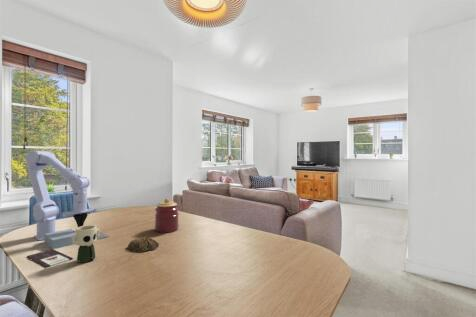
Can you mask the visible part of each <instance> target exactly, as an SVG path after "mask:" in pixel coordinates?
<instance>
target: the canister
mask: <svg viewBox="0 0 476 317" xmlns="http://www.w3.org/2000/svg"><path fill="white" fill-rule="evenodd" d="M179 209H180V208H179V207H178V203H176V202H175V201H173V200H170V198H168V197H166V198H165V199H164V201H160V202H158V203H157V204H156V207H155V208H154V211H155V214H154V217H155V218H154V222H155V223H154V231H156V232H157V233H172V232H175V231H178V230H179V226H180V225H179Z"/></svg>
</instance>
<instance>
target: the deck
mask: <svg viewBox="0 0 476 317" xmlns="http://www.w3.org/2000/svg"><path fill="white" fill-rule="evenodd" d="M73 235H76V230H73V229H72V228H69V229H63V230H58V231H57V230H56V231H55V232H51V233H46V234H44V243H45V244H46V245H47V246H48V247H49V248H51V249H54V250H57V249H60V248H64V246H65V247H67V246H72V245H76V243H75V244H72V236H73ZM75 241H76V237H75Z"/></svg>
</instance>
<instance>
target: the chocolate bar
mask: <svg viewBox="0 0 476 317" xmlns="http://www.w3.org/2000/svg"><path fill="white" fill-rule="evenodd" d="M26 258H28V259H29V260H31V261H33V262H34V263H37V265H38V264H39V265H40V266H43V267H44V268H46V269H48V268H51V267H53V266H57V265H60V264H62V263H66V262H69V261H72V260H74V258H73V257H71V256H69V255H67V254H64V253H62V252H60V251H58V250H57V249H52V248H51V249H48V250H44V251H40V252H36V253H33V254H29V255H26Z"/></svg>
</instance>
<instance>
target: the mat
mask: <svg viewBox="0 0 476 317" xmlns="http://www.w3.org/2000/svg"><path fill="white" fill-rule="evenodd" d="M109 237H110V236H109V235H107V234H105V233H103V232H101V231H100V236H99V237H97V240H101V239H105V238H109ZM97 240H96V241H97Z"/></svg>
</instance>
